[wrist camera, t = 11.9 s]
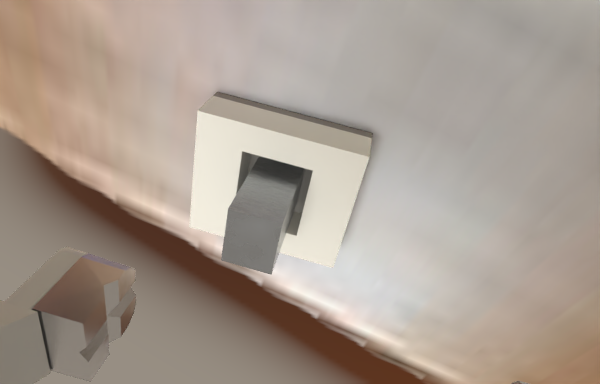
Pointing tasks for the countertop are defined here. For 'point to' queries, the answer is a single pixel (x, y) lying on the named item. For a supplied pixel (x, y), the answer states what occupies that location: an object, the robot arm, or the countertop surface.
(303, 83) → the countertop surface
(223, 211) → the well block
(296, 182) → the grey brushed prism
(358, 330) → the countertop surface
